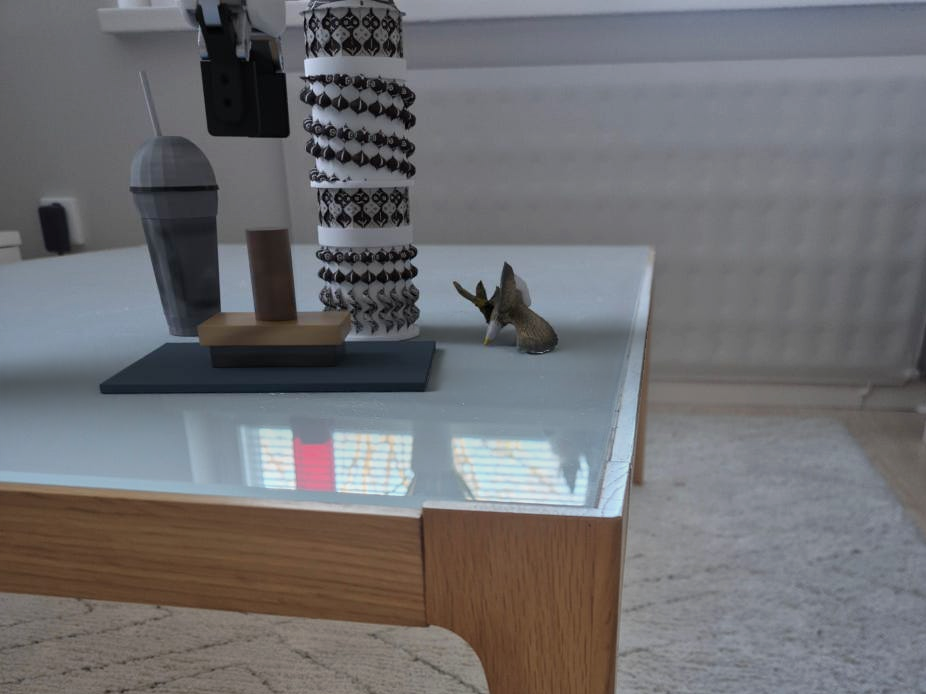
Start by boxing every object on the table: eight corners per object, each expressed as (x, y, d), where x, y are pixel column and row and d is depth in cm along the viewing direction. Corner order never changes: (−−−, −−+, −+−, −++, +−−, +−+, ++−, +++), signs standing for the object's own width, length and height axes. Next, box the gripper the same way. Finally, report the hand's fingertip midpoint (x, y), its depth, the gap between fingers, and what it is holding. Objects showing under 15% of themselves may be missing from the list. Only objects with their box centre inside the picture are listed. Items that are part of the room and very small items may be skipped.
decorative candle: (303, 342, 79) (270, -18, 67) (337, 323, 87) (313, -1, 75) (409, 345, 78) (393, -23, 66) (433, 326, 86) (424, -5, 74)
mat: (100, 393, 63) (98, 384, 63) (167, 350, 77) (165, 342, 76) (425, 391, 63) (424, 382, 63) (436, 347, 76) (435, 340, 76)
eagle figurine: (432, 326, 79) (481, 321, 71) (467, 247, 78) (520, 233, 70) (504, 370, 82) (557, 369, 75) (537, 294, 82) (594, 286, 74)
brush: (203, 369, 67) (183, 232, 63) (223, 352, 72) (206, 225, 68) (342, 368, 67) (332, 231, 63) (353, 351, 72) (344, 224, 68)
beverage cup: (243, 334, 82) (210, 68, 73) (156, 341, 80) (111, 67, 71) (230, 322, 88) (199, 74, 79) (150, 327, 86) (107, 73, 77)
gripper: (198, -154, 62) (227, 137, 70) (104, -252, 47) (155, 135, 55) (311, -153, 62) (327, 138, 70) (254, -250, 47) (283, 137, 55)
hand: (252, 137), depth 63 cm, fingers open, 9 cm apart
